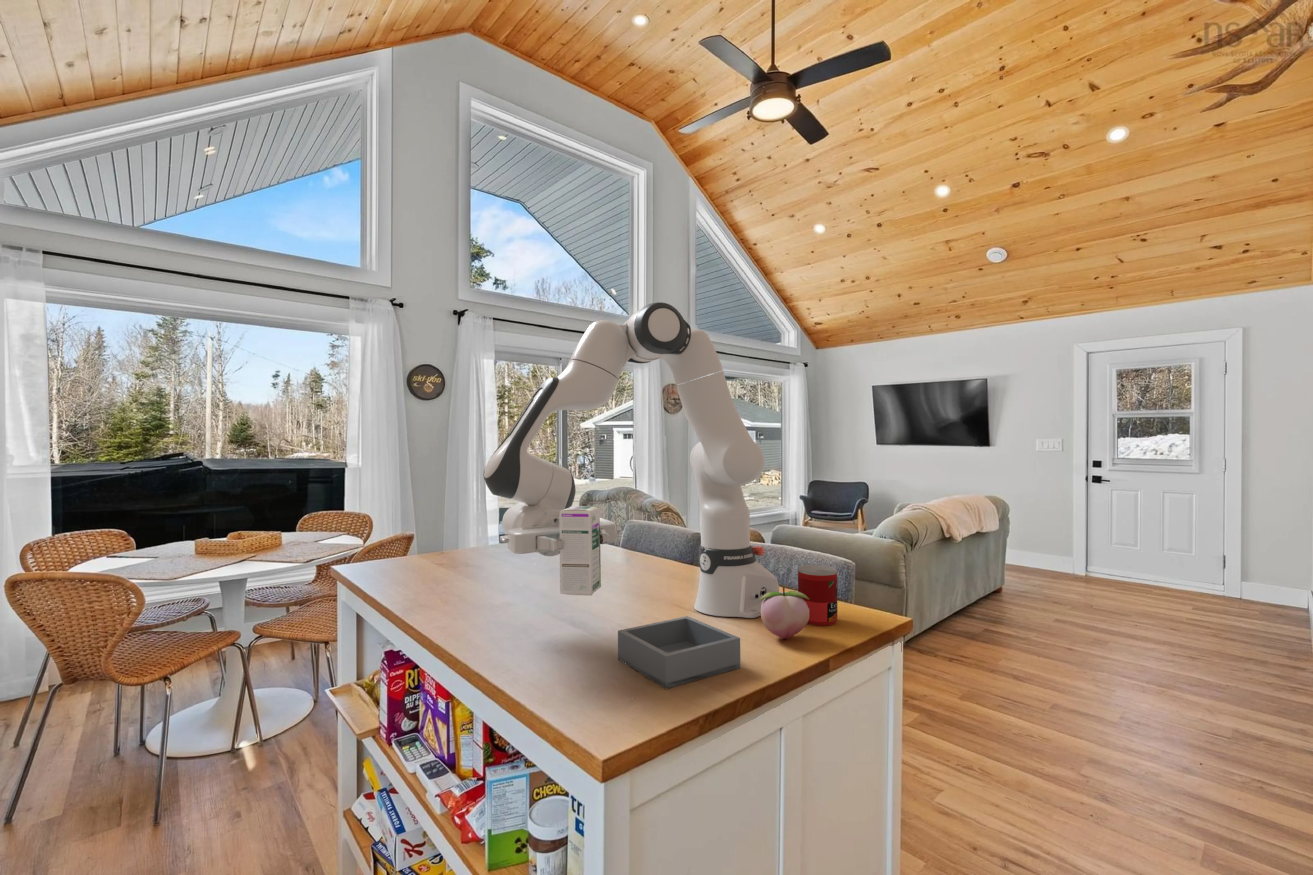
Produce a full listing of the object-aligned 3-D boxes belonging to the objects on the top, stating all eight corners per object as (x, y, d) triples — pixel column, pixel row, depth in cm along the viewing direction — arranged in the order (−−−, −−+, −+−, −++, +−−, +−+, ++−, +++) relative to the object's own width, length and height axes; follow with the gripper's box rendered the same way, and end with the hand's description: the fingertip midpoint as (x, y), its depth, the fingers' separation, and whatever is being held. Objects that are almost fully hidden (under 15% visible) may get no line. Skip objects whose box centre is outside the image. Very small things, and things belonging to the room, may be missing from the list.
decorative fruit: (799, 630, 119) (799, 580, 119) (815, 644, 111) (814, 590, 111) (753, 632, 118) (753, 582, 118) (766, 647, 109) (765, 592, 109)
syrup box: (592, 596, 100) (592, 509, 100) (558, 594, 101) (559, 508, 101) (601, 588, 106) (601, 506, 106) (569, 586, 106) (569, 505, 107)
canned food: (836, 628, 120) (836, 573, 120) (796, 624, 123) (795, 570, 123) (838, 617, 127) (838, 565, 127) (800, 613, 130) (800, 563, 130)
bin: (687, 642, 112) (687, 616, 112) (740, 667, 100) (740, 637, 100) (618, 659, 104) (617, 630, 104) (666, 689, 91) (665, 656, 91)
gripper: (495, 520, 108) (525, 529, 97) (594, 511, 120) (632, 518, 108) (495, 555, 108) (526, 568, 97) (595, 542, 120) (632, 553, 108)
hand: (582, 542), depth 103 cm, fingers closed on syrup box, 8 cm apart
